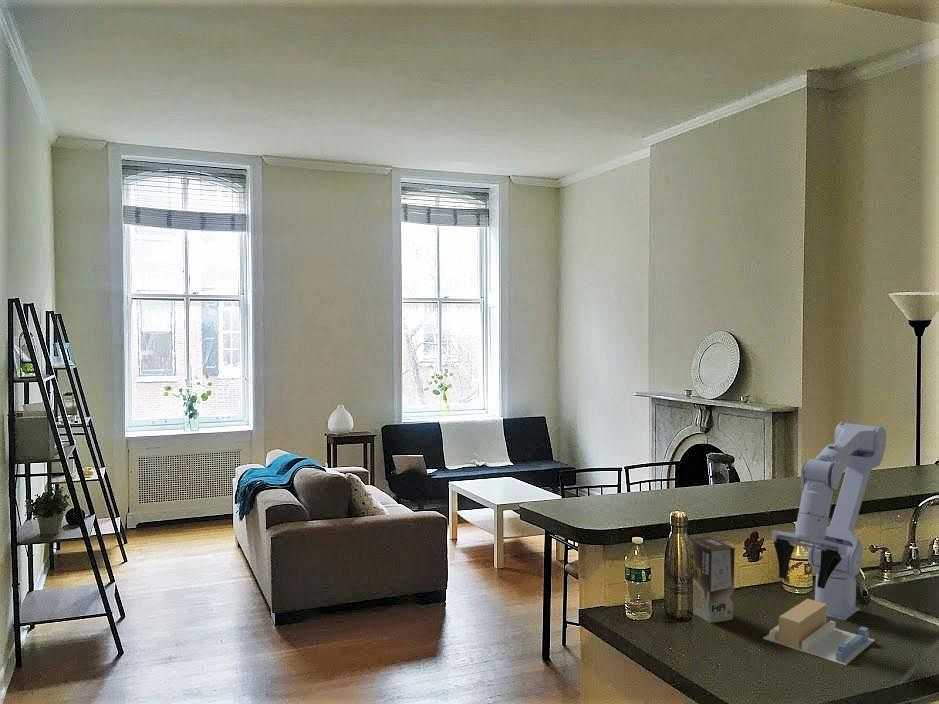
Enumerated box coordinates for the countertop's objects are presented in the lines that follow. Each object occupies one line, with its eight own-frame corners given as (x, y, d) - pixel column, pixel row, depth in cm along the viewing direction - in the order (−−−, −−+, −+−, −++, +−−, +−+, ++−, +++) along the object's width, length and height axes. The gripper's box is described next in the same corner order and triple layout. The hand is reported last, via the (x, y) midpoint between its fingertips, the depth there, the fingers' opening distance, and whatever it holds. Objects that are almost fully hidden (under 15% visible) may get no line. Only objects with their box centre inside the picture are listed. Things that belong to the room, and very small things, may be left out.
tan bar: (806, 621, 166) (807, 598, 165) (825, 627, 163) (826, 604, 163) (778, 641, 156) (779, 616, 156) (798, 647, 153) (799, 622, 153)
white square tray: (795, 619, 168) (796, 604, 168) (874, 642, 157) (875, 627, 157) (762, 641, 157) (763, 625, 157) (845, 668, 146) (846, 651, 146)
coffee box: (734, 621, 167) (737, 548, 166) (709, 625, 164) (712, 551, 164) (707, 606, 175) (709, 535, 174) (683, 609, 173) (685, 538, 172)
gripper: (771, 506, 163) (758, 571, 160) (843, 519, 153) (831, 589, 150) (783, 513, 168) (772, 576, 165) (855, 526, 158) (843, 594, 155)
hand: (801, 582), depth 158 cm, fingers open, 7 cm apart
